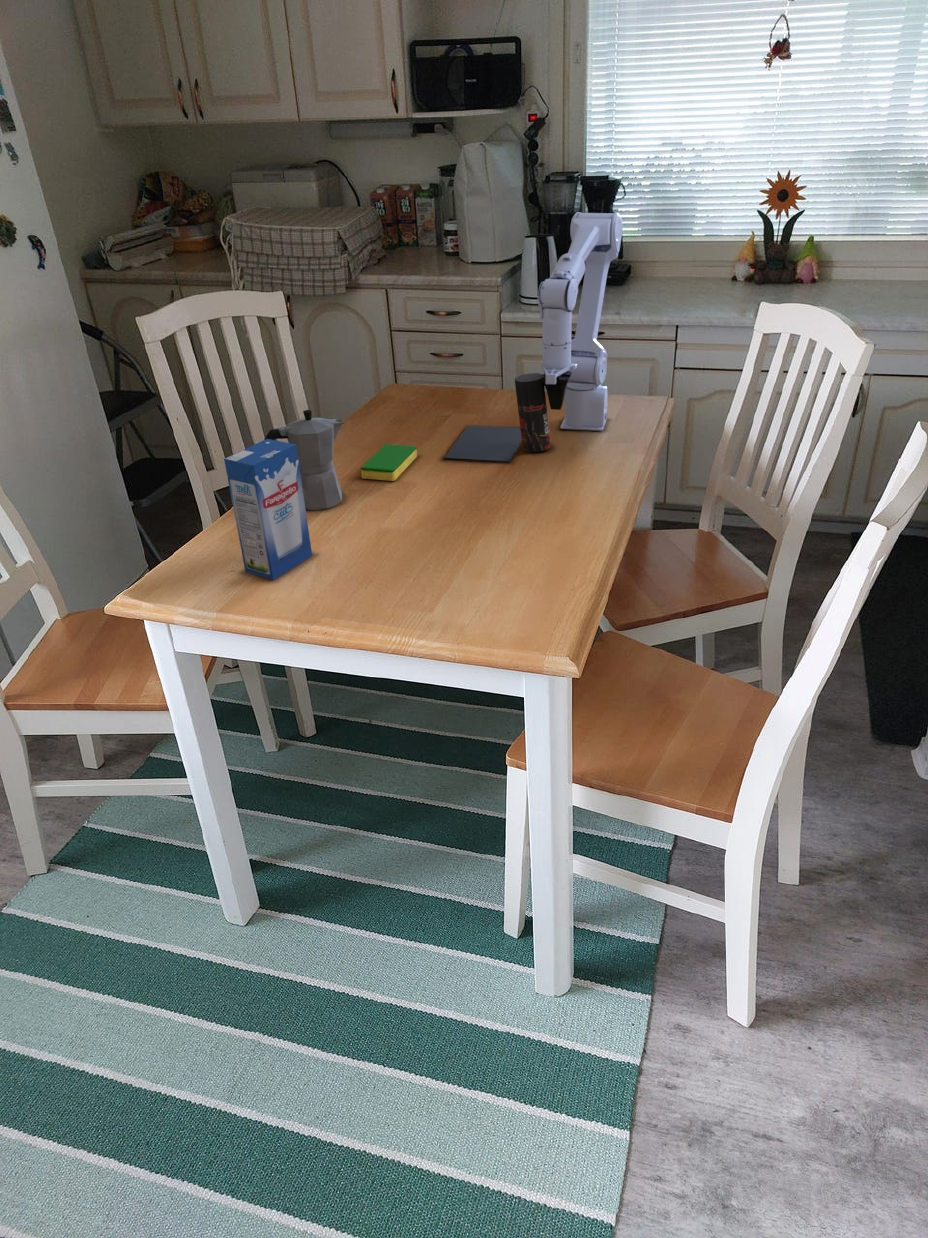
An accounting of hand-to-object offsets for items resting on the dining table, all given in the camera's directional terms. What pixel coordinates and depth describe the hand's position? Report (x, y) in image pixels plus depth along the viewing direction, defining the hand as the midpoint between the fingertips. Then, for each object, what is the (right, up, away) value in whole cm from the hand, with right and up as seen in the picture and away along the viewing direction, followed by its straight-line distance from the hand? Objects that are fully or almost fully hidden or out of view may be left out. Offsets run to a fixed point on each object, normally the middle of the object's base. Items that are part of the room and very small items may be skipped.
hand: (556, 408), depth 190 cm
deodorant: (-4, -7, +6) cm, 10 cm away
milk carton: (-50, -34, -35) cm, 70 cm away
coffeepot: (-48, -21, -14) cm, 54 cm away
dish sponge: (-34, -12, 0) cm, 37 cm away
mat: (-14, -6, +9) cm, 18 cm away
